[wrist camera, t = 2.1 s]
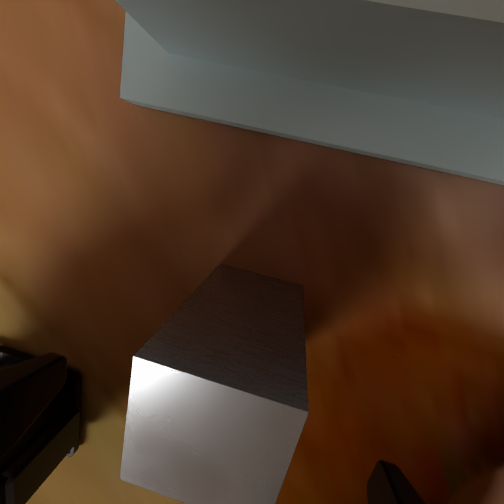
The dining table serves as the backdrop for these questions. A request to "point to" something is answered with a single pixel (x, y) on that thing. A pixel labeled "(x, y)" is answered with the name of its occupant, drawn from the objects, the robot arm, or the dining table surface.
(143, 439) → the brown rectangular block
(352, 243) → the dining table surface
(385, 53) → the grey open box
